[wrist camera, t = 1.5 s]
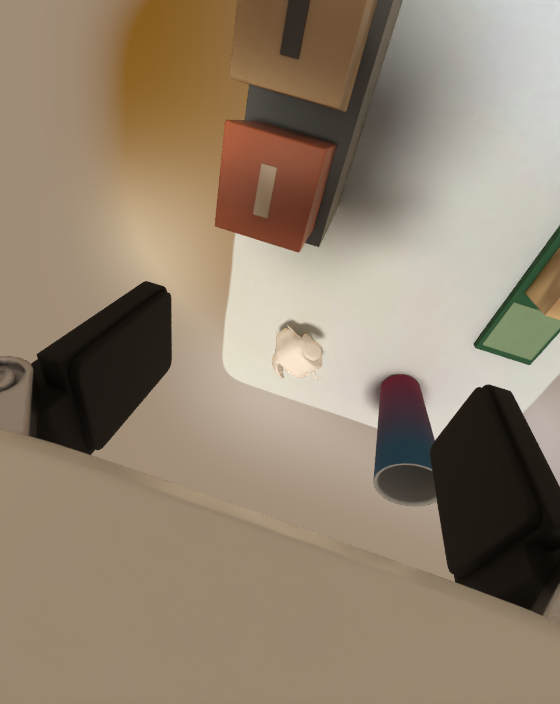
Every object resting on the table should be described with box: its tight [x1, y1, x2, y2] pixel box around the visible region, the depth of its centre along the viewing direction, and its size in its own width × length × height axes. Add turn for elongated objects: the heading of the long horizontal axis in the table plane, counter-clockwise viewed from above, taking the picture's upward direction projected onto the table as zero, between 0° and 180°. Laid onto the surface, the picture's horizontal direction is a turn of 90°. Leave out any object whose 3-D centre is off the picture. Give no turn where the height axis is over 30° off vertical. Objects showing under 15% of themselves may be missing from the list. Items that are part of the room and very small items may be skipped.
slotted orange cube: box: [215, 120, 337, 252], centre depth 19 cm, size 5×5×5 cm
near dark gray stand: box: [230, 0, 402, 247], centre depth 20 cm, size 20×6×19 cm, turn 167°
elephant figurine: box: [272, 326, 322, 380], centre depth 42 cm, size 7×8×6 cm
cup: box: [374, 374, 437, 506], centre depth 38 cm, size 7×7×15 cm
